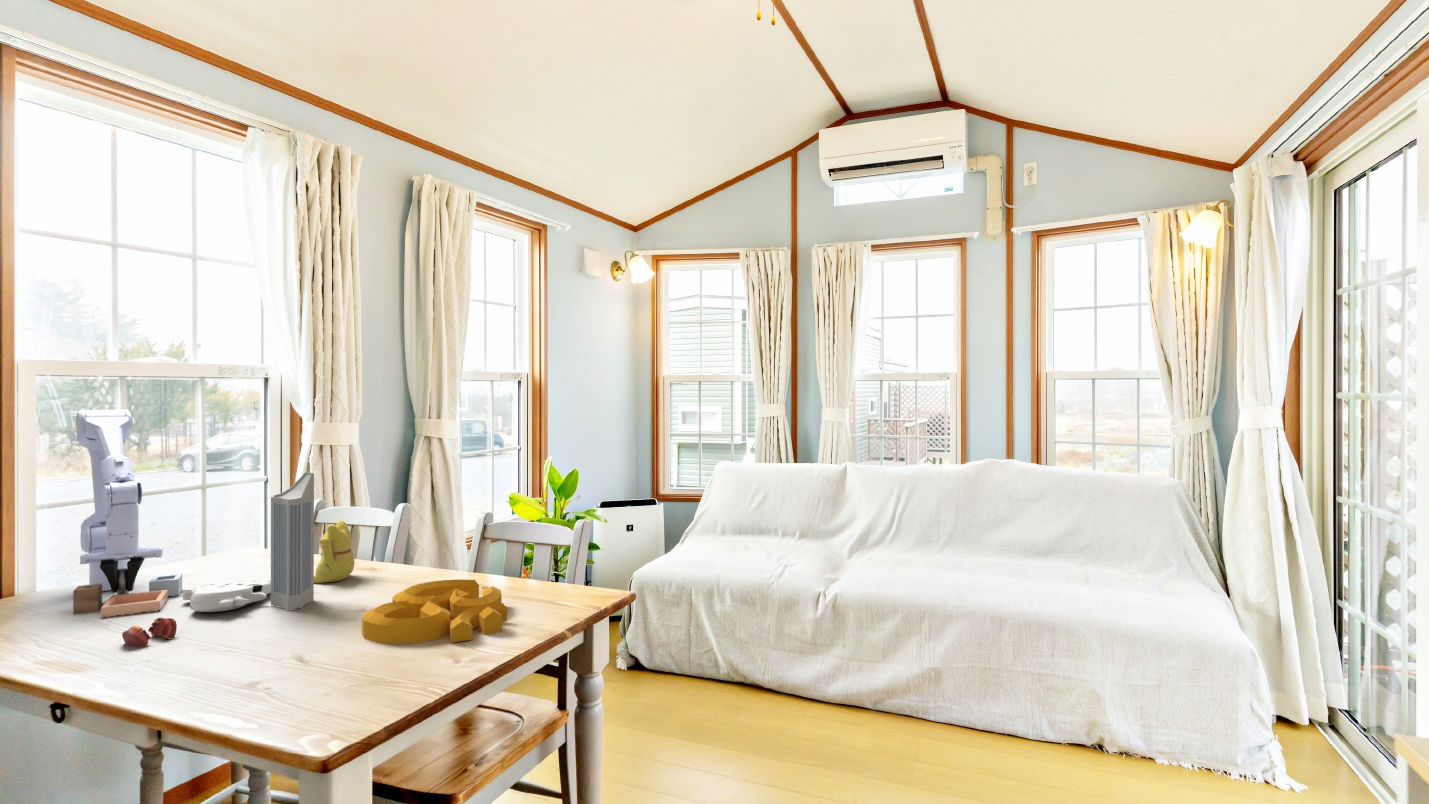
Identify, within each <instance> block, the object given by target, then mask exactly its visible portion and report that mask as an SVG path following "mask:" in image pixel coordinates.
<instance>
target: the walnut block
mask: <svg viewBox="0 0 1429 804" xmlns="http://www.w3.org/2000/svg"><path fill="white" fill-rule="evenodd" d="M72 593H73V594H72V599H73V601H72V603H73V604H72V607H73V609H72V610H73V614H77V613H86V612H94V611H95V612H96V611H99V609H101V607H102V606H103V591H102V584H93V585H89V584H84V585H83V584H82V585H78V586H77V587H76V588H74V589H73V592H72Z"/></svg>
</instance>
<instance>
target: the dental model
mask: <svg viewBox="0 0 1429 804" xmlns="http://www.w3.org/2000/svg"><path fill="white" fill-rule="evenodd" d="M177 627H178V626H177V621H176V619H174V618H172V617H171V618H169V617H167V618H166V617H158V618H156V619H154V620H153V622H152V623H151V626H149V628H148V629H147V630H146V629H144V628H143V627H141V626H139V625H136V624H135V625H133V626H131V627H129V628H128V629H127V630H125V631H123V632H122V634H121V635H122V639H123V641H124V644H126V645H130V646H134V647H136V648H137V647H138V648H145V647H146V646H148V644H149V640H151V636H150V635H152V636H156V637H161V636H163V637H162V638H163V639H166V640H173V639H172V638H174V639H175V636H176V634H177ZM147 631H148V632H149V633H150V634H149V633H148V632H147Z"/></svg>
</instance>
